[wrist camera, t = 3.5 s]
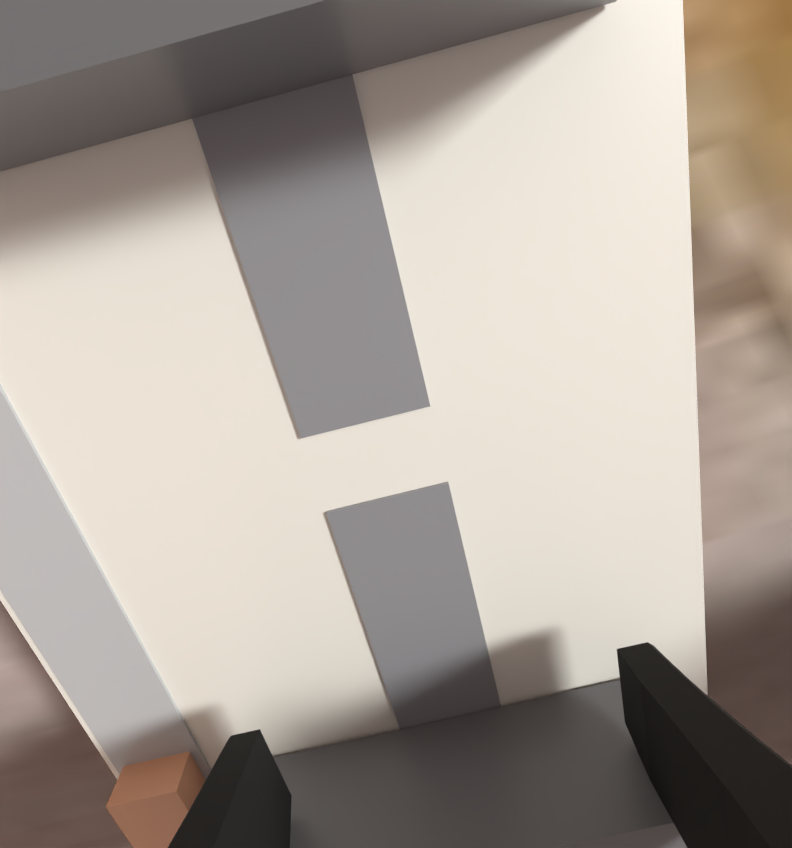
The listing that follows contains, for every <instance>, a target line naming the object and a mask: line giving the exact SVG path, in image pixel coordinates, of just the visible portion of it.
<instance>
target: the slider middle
mask: <svg viewBox="0 0 792 848" xmlns="http://www.w3.org/2000/svg"><path fill="white" fill-rule="evenodd" d="M274 760H275V762H276V764H277V766H278V768H279V770H280V772H281V775H282V777H283V779H284V781H285V783H286V785H287V787H288V789H289V791H290V793H291V795H292V796H291V830H290V848H687V846H686V844H685V843H684V841H683V839H682V837H681V835H680V834H679V832H678V830H677V828H676V826H675V825H674V823H673V821H672V819H671V817H670V816H669V814H668V812H667V810H666V808H665V806H664V805H663V803H662V801H661V799H660V797H659V796H658V794H657V792H656V790H655V788H654V786H653V784H652V783H651V781H650V779H649V776H648V774H647V772H646V770H645V768H644V765H643V763H642V761H641V759H640V756H639V754H638V752H637V749H636V747H635V745H634V742H633V740H632V738H631V735H630V733H629V731H628V729H627V726H626V724H625V719H624V710H623V701H622V692H621V684H620V680H618V681H613V682H609V683H604V684H600V685H596V686H591V687H587V688H582V689H578V690H573V691H569V692H564V693H560V694H555V695H551V696H546V697H542V698H538V699H533V700H529V701H524V702H520V703H515V704H511V705H506V706H502V707H497V708H493V709H488V710H484V711H479V712H475V713H471V714H466V715H462V716H457V717H453V718H448V719H444V720H439V721H435V722H430V723H426V724H421V725H417V726H413V727H408V728H404V729H399V730H395V731H390V732H386V733H381V734H377V735H372V736H368V737H363V738H359V739H355V740H350V741H346V742H341V743H337V744H332V745H328V746H323V747H319V748H314V749H310V750H305V751H301V752H297V753H292V754H288V755H283V756H279V757H274Z"/></svg>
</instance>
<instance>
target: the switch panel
mask: <svg viewBox="0 0 792 848" xmlns="http://www.w3.org/2000/svg"><path fill="white" fill-rule="evenodd" d="M0 601H1V602H2V604H3V605H4V607H5V608H6V610H7V611H8V613H9V614H10V616H11V617H12V619H13V621H14V622H15V624H16V625H17V627H18V628H19V630H20V631H21V633H22V634H23V636H24V637H25V639H26V640H27V642H28V644H29V645H30V647H31V648H32V650H33V651H34V653H35V654H36V656H37V657H38V659H39V660H40V662H41V664H42V665H43V667H44V668H45V670H46V671H47V673H48V674H49V676H50V677H51V679H52V680H53V682H54V683H55V685H56V687H57V688H58V690H59V691H60V693H61V694H62V696H63V697H64V699H65V700H66V702H67V703H68V705H69V707H70V708H71V710H72V711H73V713H74V714H75V716H76V717H77V719H78V720H79V722H80V723H81V725H82V727H83V728H84V730H85V731H86V733H87V734H88V736H89V737H90V739H91V740H92V742H93V743H94V745H95V746H96V748H97V750H98V751H99V753H100V754H101V756H102V757H103V759H104V760H105V762H106V763H107V765H108V766H109V768H110V770H111V771H112V773H113V774H114V776H115V777H116V779H117V782H116V785H115V787H114V789H113V791H112V794H111V796H110V798H109V800H108V803H107V805H106V809H107V810H108V811H109V813H110V814H111V816H112V817H113V819H114V820H115V822H116V823H117V825H118V826H119V828H120V829H121V830H122V832H123V833H124V835H125V836H126V838H127V839H128V841H129V842H130V844H131V845H132V847H133V848H168V846H169V844H170V842H171V841H172V839H173V837H174V836H175V834H176V832H177V830H178V829H179V827H180V825H181V823H182V822H183V820H184V818H185V816H186V815H187V813H188V811H189V809H190V808H191V806H192V804H193V802H194V800H195V799H196V797H197V795H198V793H199V791H200V790H201V788H202V786H203V784H204V782H205V780H206V779H207V777H208V775H209V773H210V771H211V769H212V768H213V766H214V764H215V762H216V760H217V759H218V757H219V755H220V753H221V751H222V750H223V748H224V746H225V744H226V742H227V741H228V739H229V738H230V736H232V735H236V734H241V733H245V732H250V731H254V730H258V729H260V731H261V733H262V735H263V737H264V739H265V741H266V743H267V745H268V747H269V750H270V752H271V754H272V756H273V758H274V757H279V756H283V755H288V754H292V753H297V752H301V751H305V750H310V749H314V748H319V747H323V746H328V745H332V744H337V743H341V742H346V741H350V740H355V739H359V738H363V737H368V736H372V735H377V734H381V733H386V732H390V731H395V730H399V729H404V728H408V727H413V726H417V725H421V724H426V723H430V722H435V721H439V720H444V719H448V718H453V717H457V716H462V715H466V714H471V713H475V712H479V711H484V710H488V709H493V708H497V707H502V706H506V705H511V704H515V703H520V702H524V701H529V700H533V699H538V698H542V697H546V696H551V695H555V694H560V693H564V692H569V691H573V690H578V689H582V688H587V687H591V686H596V685H600V684H604V683H609V682H613V681H618V680H620V675H619V666H618V657H617V649H619V648H624V647H628V646H632V645H637V644H641V643H646V642H648V643H650V644H652V645H654V646H655V647H656V648H657V649H658V650H659V651H660V652H661V653H662V654H663V655H664V656H665V657H666V658H667V659H668V660H669V661H670V662H671V663H672V664H673V665H674V666H675V667H676V668H678V669H679V670H680V671H681V672H682V673H683V674H684V675H685V676H686V677H687V678H688V679H689V680H691V681H692V682H693V683H694V684H695V685H696V686H697V687H698V688H699V689H701V690H702V691H703V692H704V693H705V694H706V695H707V696H708V690H707V662H706V634H705V607H704V579H703V551H702V523H701V496H700V468H699V440H698V413H697V385H696V357H695V329H694V302H693V274H692V246H691V218H690V191H689V163H688V135H687V108H686V80H685V52H684V24H683V0H617V1H616V2H613V3H610V4H606V5H602V6H599V7H595V8H591V9H588V10H584V11H581V12H577V13H573V14H570V15H566V16H562V17H559V18H555V19H552V20H548V21H544V22H541V23H537V24H533V25H530V26H526V27H522V28H519V29H515V30H512V31H508V32H504V33H501V34H497V35H493V36H490V37H486V38H483V39H479V40H475V41H472V42H468V43H464V44H461V45H457V46H454V47H450V48H446V49H443V50H439V51H435V52H432V53H428V54H425V55H421V56H417V57H414V58H410V59H406V60H403V61H399V62H395V63H392V64H388V65H385V66H381V67H377V68H374V69H370V70H366V71H363V72H359V73H356V74H352V75H348V76H345V77H341V78H337V79H334V80H330V81H327V82H323V83H319V84H316V85H312V86H308V87H305V88H301V89H298V90H294V91H290V92H287V93H283V94H279V95H276V96H272V97H268V98H265V99H261V100H258V101H254V102H250V103H247V104H243V105H239V106H236V107H232V108H229V109H225V110H221V111H218V112H214V113H210V114H207V115H203V116H200V117H196V118H192V119H189V120H185V121H181V122H178V123H174V124H171V125H167V126H163V127H160V128H156V129H152V130H149V131H145V132H141V133H138V134H134V135H131V136H127V137H123V138H120V139H116V140H112V141H109V142H105V143H102V144H98V145H94V146H91V147H87V148H83V149H80V150H76V151H73V152H69V153H65V154H62V155H58V156H54V157H51V158H47V159H44V160H40V161H36V162H33V163H29V164H25V165H22V166H18V167H14V168H11V169H7V170H4V171H0Z"/></svg>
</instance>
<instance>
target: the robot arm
mask: <svg viewBox="0 0 792 848" xmlns="http://www.w3.org/2000/svg"><path fill="white" fill-rule="evenodd" d="M617 657H618V666H619V675H620V684H621V692H622V701H623V710H624V719H625V724H626V726H627V729H628V731H629V733H630V735H631V738H632V740H633V742H634V745H635V747H636V749H637V752H638V754H639V756H640V759H641V761H642V763H643V765H644V768H645V770H646V772H647V774H648V776H649V779H650V781H651V783H652V784H653V786H654V788H655V790H656V792H657V794H658V796H659V797H660V799H661V801H662V803H663V805H664V806H665V808H666V810H667V812H668V814H669V816H670V817H671V819H672V821H673V823H674V825H675V826H676V828H677V830H678V832H679V834H680V835H681V837H682V839H683V841H684V843H685V844H686V846H687V848H792V765H790V764H789V763H788V762H786V761H785V760H784V759H783V758H781V757H780V756H779V755H778V754H776V753H775V752H774V751H773V750H771V749H770V748H769V747H768V746H766V745H765V744H764V743H763V742H761V741H760V740H759V739H758V738H757V737H755V736H754V735H753V734H752V733H751V732H749V731H748V730H747V729H746V728H745V727H743V726H742V725H741V724H740V723H739V722H737V721H736V720H735V719H734V718H733V717H731V716H730V715H729V714H728V713H727V712H726V711H724V710H723V709H722V708H721V707H720V706H719V705H717V704H716V703H715V702H714V701H713V700H712V699H711V698H709V697H708V696H707V695H706V694H705V693H704V692H703V691H702V690H701V689H699V688H698V687H697V686H696V685H695V684H694V683H693V682H692V681H691V680H689V679H688V678H687V677H686V676H685V675H684V674H683V673H682V672H681V671H680V670H679V669H678V668H676V667H675V666H674V665H673V664H672V663H671V662H670V661H669V660H668V659H667V658H666V657H665V656H664V655H663V654H662V653H661V652H660V651H659V650H658V649H657V648H656V647H655V646H654V645H652V644H650V643H648V642H646V643H641V644H637V645H632V646H628V647H624V648H619V649H617ZM291 796H292V795H291V793H290V791H289V789H288V787H287V785H286V783H285V781H284V779H283V777H282V775H281V772H280V770H279V768H278V766H277V764H276V762H275V760H274V758H273V756H272V754H271V752H270V750H269V747H268V745H267V743H266V741H265V739H264V737H263V735H262V733H261V731H260V729H258V730H254V731H250V732H245V733H241V734H236V735H232V736H230V738H229V739H228V741H227V742H226V744H225V746H224V748H223V750H222V751H221V753H220V755H219V757H218V759H217V760H216V762H215V764H214V766H213V768H212V769H211V771H210V773H209V775H208V777H207V779H206V780H205V782H204V784H203V786H202V788H201V790H200V791H199V793H198V795H197V797H196V799H195V800H194V802H193V804H192V806H191V808H190V809H189V811H188V813H187V815H186V816H185V818H184V820H183V822H182V823H181V825H180V827H179V829H178V830H177V832H176V834H175V836H174V837H173V839H172V841H171V842H170V844H169V846H168V848H290V830H291Z"/></svg>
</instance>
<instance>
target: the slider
mask: <svg viewBox="0 0 792 848" xmlns="http://www.w3.org/2000/svg"><path fill="white" fill-rule="evenodd" d="M616 1H617V0H0V171H4V170H7V169H11V168H14V167H18V166H22V165H25V164H29V163H33V162H36V161H40V160H44V159H47V158H51V157H54V156H58V155H62V154H65V153H69V152H73V151H76V150H80V149H83V148H87V147H91V146H94V145H98V144H102V143H105V142H109V141H112V140H116V139H120V138H123V137H127V136H131V135H134V134H138V133H141V132H145V131H149V130H152V129H156V128H160V127H163V126H167V125H171V124H174V123H178V122H181V121H185V120H189V119H192V118H196V117H200V116H203V115H207V114H210V113H214V112H218V111H221V110H225V109H229V108H232V107H236V106H239V105H243V104H247V103H250V102H254V101H258V100H261V99H265V98H268V97H272V96H276V95H279V94H283V93H287V92H290V91H294V90H298V89H301V88H305V87H308V86H312V85H316V84H319V83H323V82H327V81H330V80H334V79H337V78H341V77H345V76H348V75H352V74H356V73H359V72H363V71H366V70H370V69H374V68H377V67H381V66H385V65H388V64H392V63H395V62H399V61H403V60H406V59H410V58H414V57H417V56H421V55H425V54H428V53H432V52H435V51H439V50H443V49H446V48H450V47H454V46H457V45H461V44H464V43H468V42H472V41H475V40H479V39H483V38H486V37H490V36H493V35H497V34H501V33H504V32H508V31H512V30H515V29H519V28H522V27H526V26H530V25H533V24H537V23H541V22H544V21H548V20H552V19H555V18H559V17H562V16H566V15H570V14H573V13H577V12H581V11H584V10H588V9H591V8H595V7H599V6H602V5H606V4H610V3H613V2H616Z"/></svg>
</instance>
